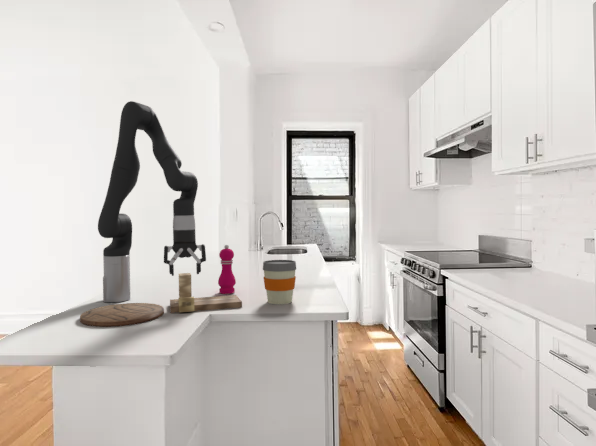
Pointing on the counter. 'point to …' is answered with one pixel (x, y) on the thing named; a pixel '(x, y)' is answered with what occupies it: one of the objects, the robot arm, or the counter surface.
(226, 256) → the pepper mill
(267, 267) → the reusable coffee cup
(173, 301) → the walnut board
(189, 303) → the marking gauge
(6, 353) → the counter surface
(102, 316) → the trivet
